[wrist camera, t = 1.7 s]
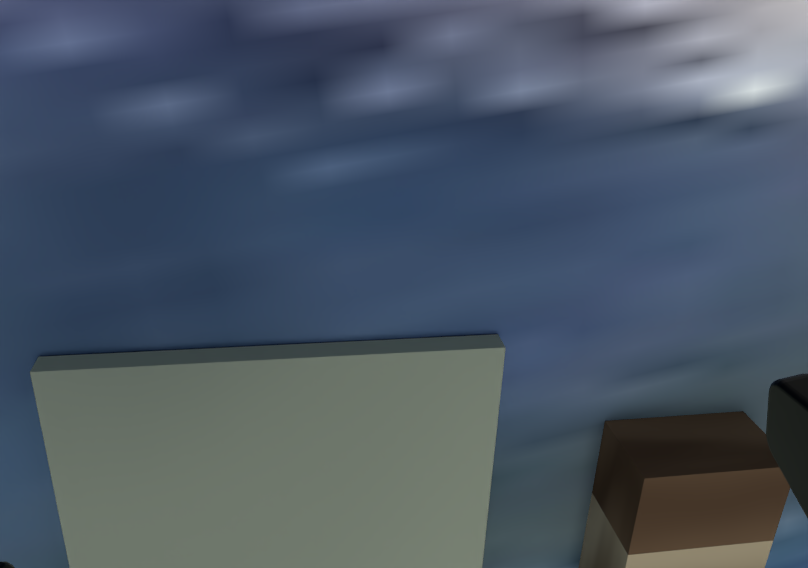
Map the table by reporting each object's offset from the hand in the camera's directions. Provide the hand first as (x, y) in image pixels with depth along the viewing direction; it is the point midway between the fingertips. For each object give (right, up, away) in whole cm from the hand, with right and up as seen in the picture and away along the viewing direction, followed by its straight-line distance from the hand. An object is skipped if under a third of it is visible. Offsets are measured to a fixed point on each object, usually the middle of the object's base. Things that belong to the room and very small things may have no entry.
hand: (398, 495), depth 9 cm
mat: (-4, -5, +15) cm, 17 cm away
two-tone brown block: (+9, -6, +19) cm, 22 cm away
